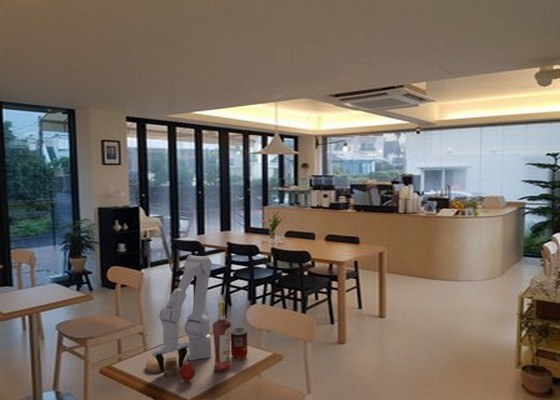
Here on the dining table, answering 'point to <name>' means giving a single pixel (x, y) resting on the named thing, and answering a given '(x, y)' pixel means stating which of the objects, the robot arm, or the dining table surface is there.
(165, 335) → the robot arm
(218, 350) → the liquor
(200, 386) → the dining table surface
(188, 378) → the onion
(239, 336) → the soda can
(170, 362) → the walnut block
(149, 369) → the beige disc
